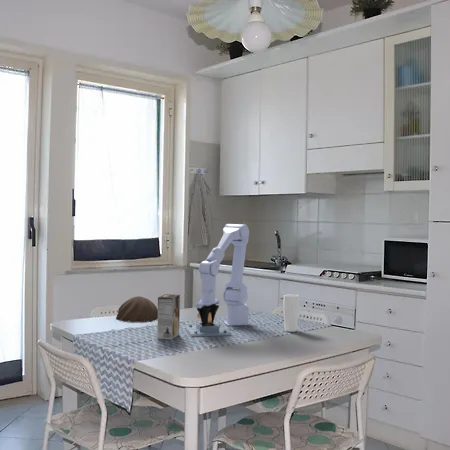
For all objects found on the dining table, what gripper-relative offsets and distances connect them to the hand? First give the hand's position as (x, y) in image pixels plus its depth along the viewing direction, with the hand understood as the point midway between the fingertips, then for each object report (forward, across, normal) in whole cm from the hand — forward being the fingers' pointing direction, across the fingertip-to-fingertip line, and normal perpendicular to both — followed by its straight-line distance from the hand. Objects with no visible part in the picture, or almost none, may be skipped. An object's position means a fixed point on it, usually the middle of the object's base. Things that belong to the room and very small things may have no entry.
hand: (207, 323), depth 227 cm
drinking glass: (+4, -23, +27) cm, 35 cm away
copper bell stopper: (+2, 0, 0) cm, 2 cm away
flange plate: (+3, 0, 0) cm, 3 cm away
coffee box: (+4, +17, -7) cm, 19 cm away
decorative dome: (+4, -6, -42) cm, 43 cm away
